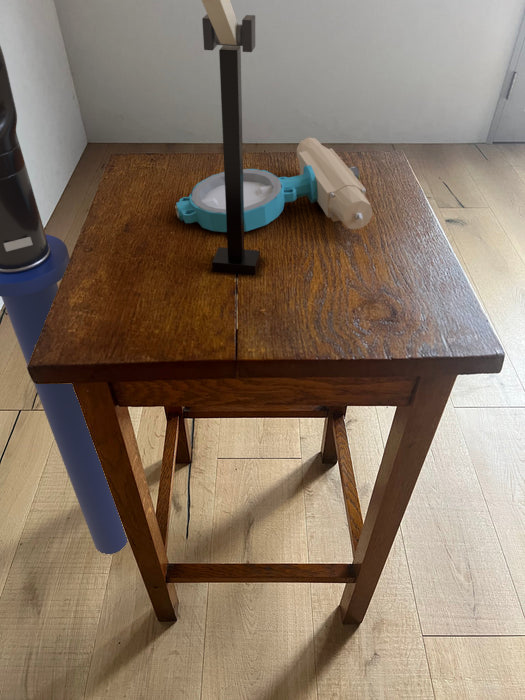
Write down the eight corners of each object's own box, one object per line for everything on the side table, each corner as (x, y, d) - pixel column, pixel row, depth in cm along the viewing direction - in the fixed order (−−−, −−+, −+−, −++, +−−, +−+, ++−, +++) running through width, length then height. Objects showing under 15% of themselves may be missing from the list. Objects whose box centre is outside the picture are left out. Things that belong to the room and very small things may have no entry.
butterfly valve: (191, 279, 81) (389, 236, 84) (181, 237, 76) (391, 193, 79) (173, 196, 101) (333, 163, 103) (164, 159, 96) (332, 126, 99)
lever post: (212, 271, 78) (196, 19, 58) (218, 256, 81) (205, 11, 61) (255, 275, 77) (254, 22, 57) (259, 259, 80) (260, 13, 60)
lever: (178, -32, 46) (181, -68, 46) (217, 52, 61) (219, 25, 61) (212, -31, 45) (215, -68, 45) (242, 53, 61) (245, 26, 61)
